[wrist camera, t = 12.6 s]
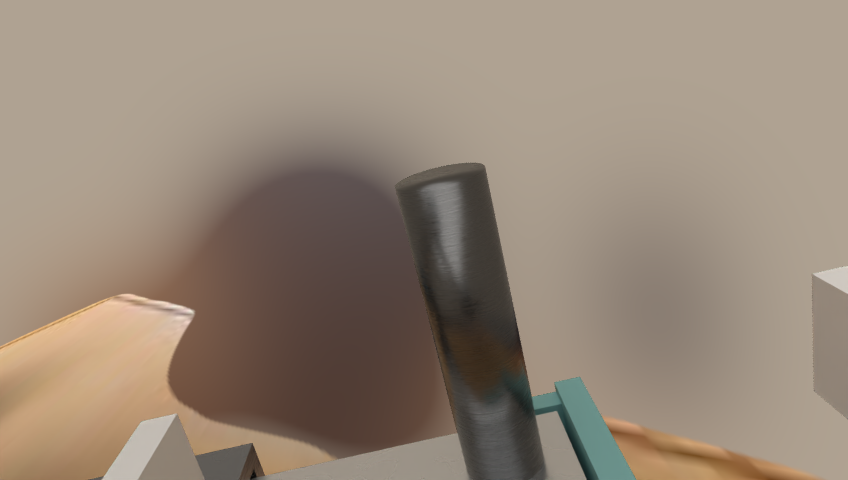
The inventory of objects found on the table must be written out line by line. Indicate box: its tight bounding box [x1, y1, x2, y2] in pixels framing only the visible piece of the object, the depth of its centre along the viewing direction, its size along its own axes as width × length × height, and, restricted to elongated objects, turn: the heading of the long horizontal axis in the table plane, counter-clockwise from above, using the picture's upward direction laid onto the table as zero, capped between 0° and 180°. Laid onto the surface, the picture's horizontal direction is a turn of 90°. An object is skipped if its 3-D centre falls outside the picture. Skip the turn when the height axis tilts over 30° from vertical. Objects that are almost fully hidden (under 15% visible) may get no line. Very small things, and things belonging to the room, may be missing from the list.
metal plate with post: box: [250, 163, 587, 480], centre depth 24 cm, size 16×5×17 cm, turn 92°
